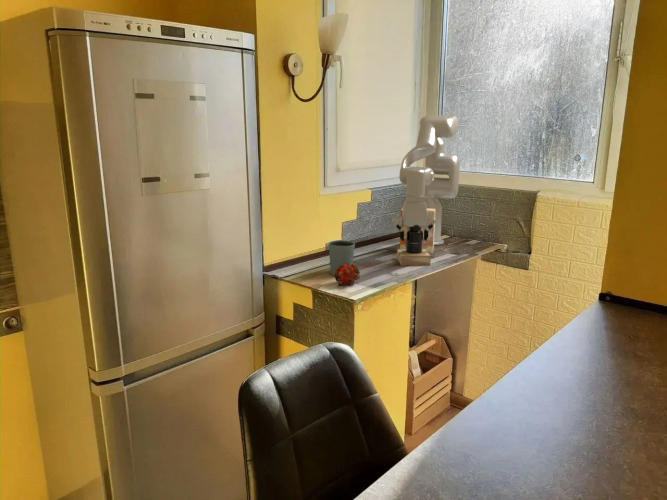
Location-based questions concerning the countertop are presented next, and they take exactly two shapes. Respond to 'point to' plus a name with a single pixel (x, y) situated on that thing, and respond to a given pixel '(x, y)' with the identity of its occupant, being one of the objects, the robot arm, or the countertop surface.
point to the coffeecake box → (427, 244)
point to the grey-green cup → (340, 254)
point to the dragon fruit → (346, 274)
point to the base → (413, 258)
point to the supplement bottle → (414, 240)
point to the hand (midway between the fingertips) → (413, 240)
